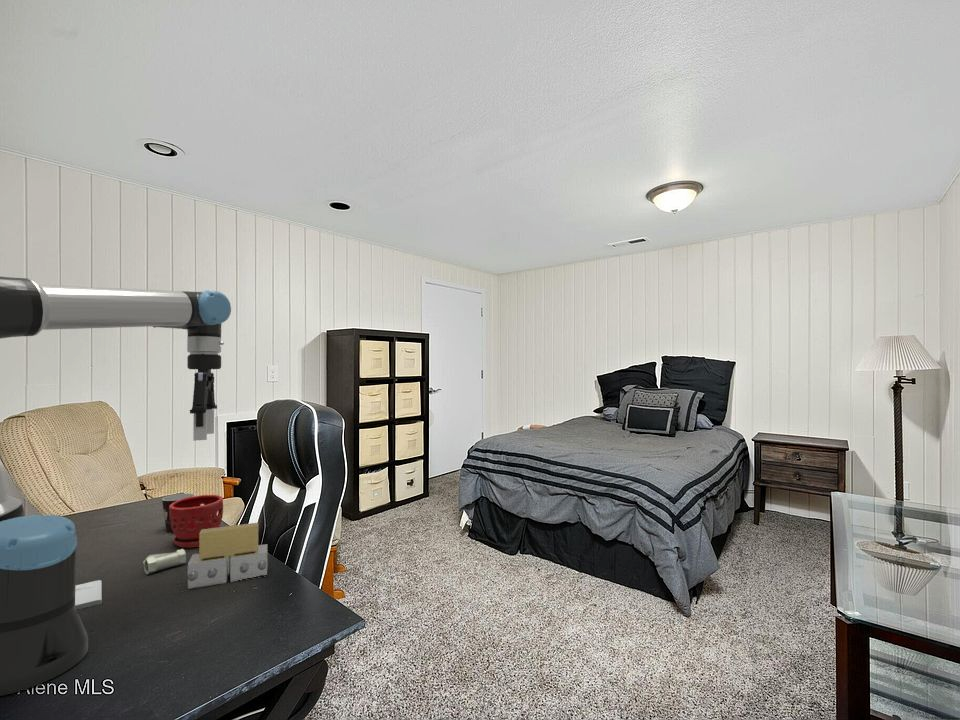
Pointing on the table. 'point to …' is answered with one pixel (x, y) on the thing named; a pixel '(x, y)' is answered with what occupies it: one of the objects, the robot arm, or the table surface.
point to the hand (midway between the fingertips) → (204, 436)
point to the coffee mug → (167, 502)
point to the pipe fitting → (164, 561)
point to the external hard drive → (88, 594)
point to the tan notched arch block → (228, 541)
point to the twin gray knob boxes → (226, 568)
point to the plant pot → (194, 518)
